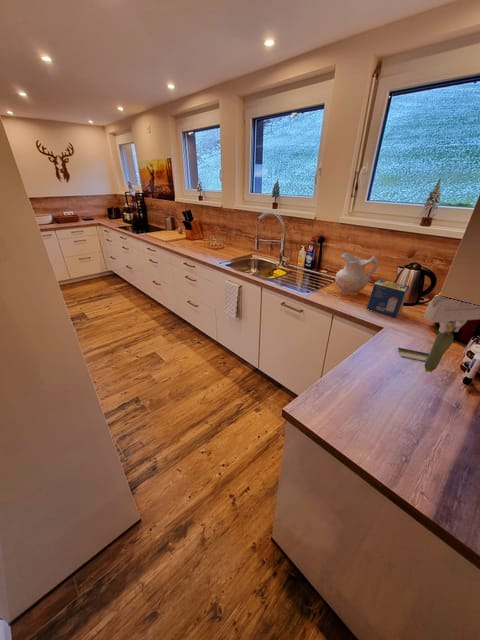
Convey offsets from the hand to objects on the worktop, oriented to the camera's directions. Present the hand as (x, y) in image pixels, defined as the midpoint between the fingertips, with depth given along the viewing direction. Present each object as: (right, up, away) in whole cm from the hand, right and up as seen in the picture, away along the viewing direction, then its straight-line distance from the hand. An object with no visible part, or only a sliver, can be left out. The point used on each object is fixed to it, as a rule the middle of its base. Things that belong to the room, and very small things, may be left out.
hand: (448, 331), depth 83 cm
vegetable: (0, -14, +8) cm, 16 cm away
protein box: (+14, +9, +63) cm, 65 cm away
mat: (+8, -10, +27) cm, 30 cm away
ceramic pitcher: (+5, +21, +86) cm, 89 cm away
